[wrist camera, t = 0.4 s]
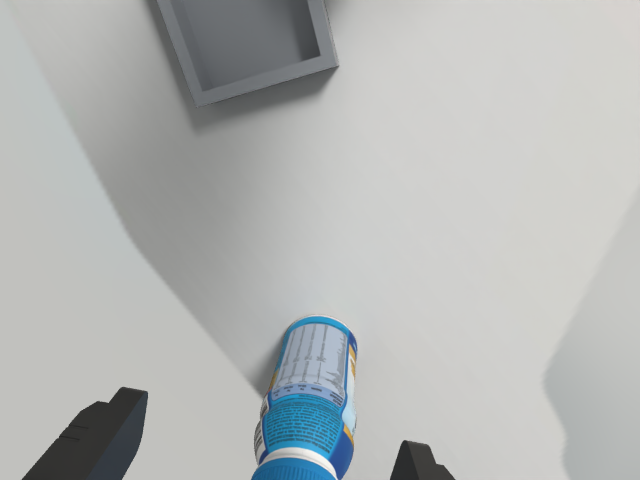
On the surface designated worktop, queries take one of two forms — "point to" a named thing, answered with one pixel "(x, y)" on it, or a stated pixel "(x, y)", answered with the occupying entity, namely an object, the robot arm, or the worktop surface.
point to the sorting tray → (247, 43)
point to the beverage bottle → (309, 404)
